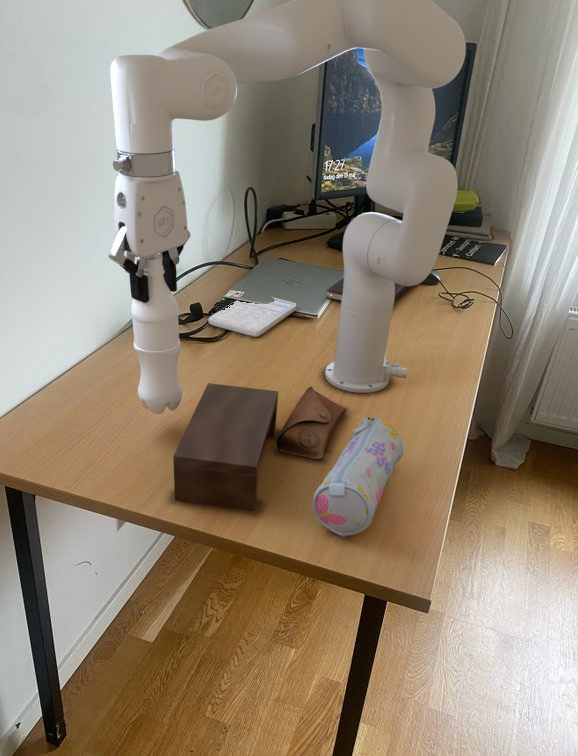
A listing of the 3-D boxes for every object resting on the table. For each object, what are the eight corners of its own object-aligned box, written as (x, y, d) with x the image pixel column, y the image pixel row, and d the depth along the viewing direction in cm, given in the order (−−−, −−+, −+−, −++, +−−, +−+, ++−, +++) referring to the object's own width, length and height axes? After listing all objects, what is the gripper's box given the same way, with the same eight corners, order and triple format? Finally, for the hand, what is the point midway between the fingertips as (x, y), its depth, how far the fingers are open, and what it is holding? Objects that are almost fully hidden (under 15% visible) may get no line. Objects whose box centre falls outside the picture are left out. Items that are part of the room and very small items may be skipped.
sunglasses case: (325, 459, 107) (308, 425, 104) (288, 469, 110) (270, 436, 108) (348, 407, 121) (333, 375, 119) (314, 417, 125) (299, 387, 122)
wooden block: (275, 431, 114) (278, 391, 110) (254, 511, 96) (256, 466, 92) (207, 423, 116) (207, 383, 111) (174, 500, 98) (173, 456, 94)
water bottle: (148, 421, 105) (136, 268, 91) (133, 400, 110) (119, 252, 96) (189, 411, 108) (184, 260, 93) (173, 391, 113) (165, 245, 99)
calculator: (206, 324, 151) (206, 316, 150) (250, 297, 165) (250, 290, 164) (257, 338, 145) (257, 330, 144) (298, 309, 159) (298, 302, 158)
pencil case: (348, 455, 109) (356, 405, 104) (401, 469, 106) (411, 419, 101) (306, 531, 93) (312, 477, 88) (366, 550, 90) (376, 495, 85)
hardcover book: (325, 298, 166) (326, 289, 164) (359, 272, 182) (360, 264, 181) (386, 312, 159) (388, 303, 158) (415, 284, 176) (417, 275, 175)
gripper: (115, 179, 80) (128, 319, 91) (210, 158, 91) (212, 285, 101) (77, 169, 84) (92, 304, 95) (172, 150, 95) (177, 273, 105)
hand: (154, 293), depth 98 cm, fingers closed on water bottle, 4 cm apart
